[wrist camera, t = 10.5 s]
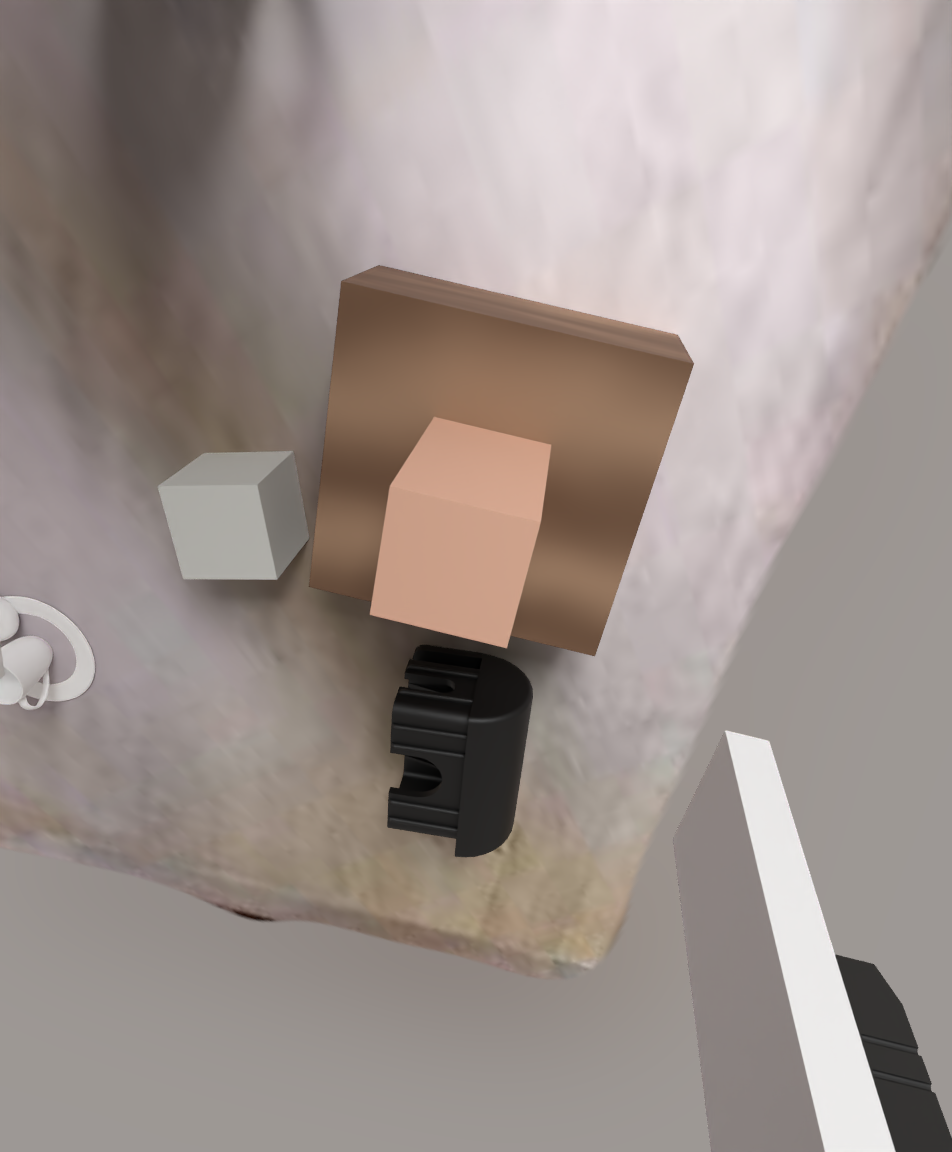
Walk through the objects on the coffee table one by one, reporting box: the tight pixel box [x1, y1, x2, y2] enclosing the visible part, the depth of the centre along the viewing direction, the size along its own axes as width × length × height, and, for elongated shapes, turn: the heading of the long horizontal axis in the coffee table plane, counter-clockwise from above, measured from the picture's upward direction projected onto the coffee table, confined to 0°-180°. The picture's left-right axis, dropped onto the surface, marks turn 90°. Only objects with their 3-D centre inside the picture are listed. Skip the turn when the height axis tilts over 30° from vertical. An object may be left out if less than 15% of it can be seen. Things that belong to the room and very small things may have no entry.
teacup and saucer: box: [0, 596, 95, 710], centre depth 47 cm, size 9×8×4 cm
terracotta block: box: [370, 417, 551, 648], centre depth 29 cm, size 5×5×8 cm
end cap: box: [387, 645, 533, 857], centre depth 43 cm, size 10×7×7 cm
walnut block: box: [309, 265, 694, 656], centre depth 35 cm, size 14×14×6 cm
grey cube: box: [158, 451, 309, 580], centre depth 39 cm, size 5×5×5 cm
